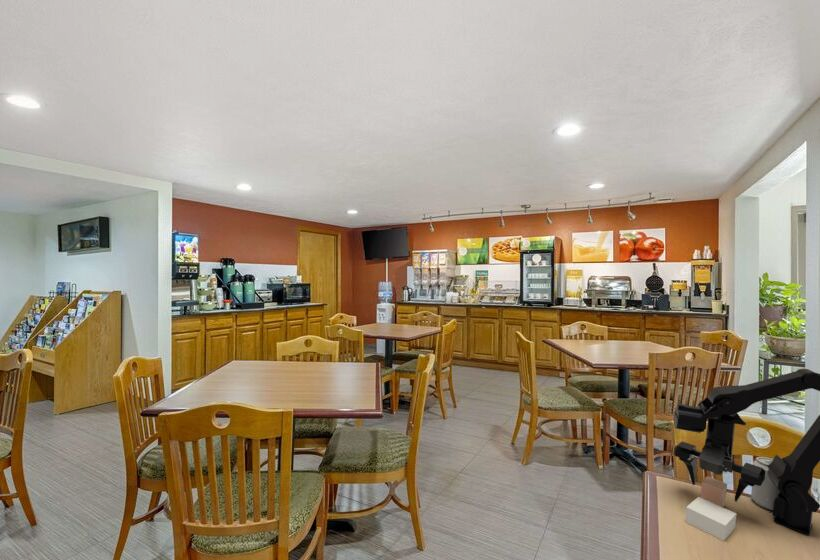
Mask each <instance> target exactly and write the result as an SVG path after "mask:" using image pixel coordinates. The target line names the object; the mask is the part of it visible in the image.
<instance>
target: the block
mask: <svg viewBox="0 0 820 560" xmlns="http://www.w3.org/2000/svg"><path fill="white" fill-rule="evenodd" d="M727 488H728V483H725V482H724V481H721V480H717V479H715V478H713V477H710V476H706V477H705V478H704V479H703V480H702V481H701V490H700V498H703V499H705V500H707V501H709V502H712V503H714V504H716V505H718V506H721V507H723V508H725V506H726V500H727V499H726V498H727V490H728V489H727Z"/></svg>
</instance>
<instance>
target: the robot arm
mask: <svg viewBox="0 0 820 560" xmlns="http://www.w3.org/2000/svg"><path fill="white" fill-rule="evenodd" d="M810 389H813V390H814V391H815V390H816V391H818V392H820V373H818V372H815V371H813V370H812V369H809V368H800V369H797V370H796V371H792V372H789V373H785V374H781V375H778V376H774V377H773V376H772V377H771V378H767V379H762V380H759V381H754V382H751V383H748V384H743V385H722V386H714V387H713V388H710V390H709V391H708V393H707V396H706V397H705V398H703V399H702V400H701V401H700V402H699V403H698V404H697V406H693V405H687V404H684V403H679V402H678V403H677V404H676V407H675V409H674V412H673V426H674V427H673V428H674V429H677V430H682V431H685V432H691V433H692V432H693V433H697V434H700V433H701V432H702V433H703V432H705V430H706V433H705V435H706V436H705V439H704V440H705V441H704V444H703V447H702V448H701V451H699V450H697V448H698V447H697V446H696V445H694V444H692V443H688V442H685V441H680V442H679V443H677V444H676V445H675V446H674V448H673V456H674V457H677V458H678V459H679V460H680V461H681V462H683V463H684V465H685V466H686V469H687V471H688V474H689V477H690V480H691V484H692V486H695V485H696V482H697V472H698V471H697V468H698V466H699V468H700V469H701V470H703V471H708V472H710V473H714V474H715V475H717V476H721V475H723V473H724V472H725V473H727V472H728V473H733V472H735V473H738V474H740V478H739V479H738V483H737V486H736V487H737V488H736V492H735V495H734V502H735V503H737V501H739V499H740V497H741V495H742V494H743V492H744V491H745V489H746V488H748V486H750V487H752V486H754V485H757V486H761V485H762V483H763V481H764V479H765V470H764V469H763V468H761V467H758V466H755V465H753V463H748V462H745V463H744V464H743V465H741V464H738V463H735V459H734V458H733V447H734V437H735V428H736V425H740V426H746V425H747V423H746V422H745V421H744V420H743V418H742V417H741V416H740V414H738V413H740V412H742V411H746V410H747V409H749V407H751V406H752V405H754V404H755V403H759V402H763V401H766V400H770V399H774V398H778V397H782V396H786V395H790V394H794V393H798V392H802V391H805V390H810ZM772 459H773V461H772V463H771V464H769V465H767V467H768V468H769V470H768V476H769V479H770V480H771V481H772V483H773V484H774V485H775V486H776V487H777V489H778V490H779V491H780V493H779V495H778V497H776V498H775V500H774V507H773V510H772V516H773V517H774V518H773V522H775V523H776V524H779V525H782V526H784V527H786V528H789V529H792V530H794V531H796V532H799V533H802V534H803V535H806V536H810V534H811V531H812V528H813V513H817V511H818V510H819V509H820V504H819V502H818V501H817V500H816V499H815V498H814V496H812V495H811V493H810V492H809V491H810V489H811V487H812V485H813V478H814V477H813V476H814V470H815V469H816V467H817V466H818V464H819V463H820V414H819V415H818V416H817V418H816V419H815V420H814V422H813V423H812V424H811V426H810V427H809V429H808V430H807V431H806V433H805V434H804V435H803V436H802V438H801V439H800V440H799V443H797V444H796V447H795V448H794V449H793V450H792V452H791V453H790V454H788V455H787V456H785V457H781V456H779V455H777V454H776V455H774V457H773V458H772ZM698 461H699V462H698Z"/></svg>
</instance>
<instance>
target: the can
mask: <svg viewBox="0 0 820 560" xmlns="http://www.w3.org/2000/svg"><path fill="white" fill-rule="evenodd" d="M773 459H774V458H770V457H765V456H757V457H756V458H755V460H754V461H753V462H752V465H755V466H758V467H761V468H763V469H764V470H765V479H764V481H763V483H762V485H761V486H757V485H754V486H751V495H750V497H751V499H752V501H754V502H755V503H756V504H757V505H758V506H760V507H762V508H764V509H766V510H768V511H769V510H770V511H773V507H774V500H775V498H776V497H778V495H779V493H780V491H779V490H778V489H777V487H776V486H775V485H774V484H773V483H772V481H771V480H770V479H769V476H768V470H769V468H768V467H767V465H769V464H771V463H772V461H773ZM767 499H769V500H767Z"/></svg>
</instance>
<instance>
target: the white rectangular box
mask: <svg viewBox="0 0 820 560" xmlns="http://www.w3.org/2000/svg"><path fill="white" fill-rule="evenodd" d="M684 515H685V516H684V522H685V523H688V524H690V525H692V526H694V527H695V528H697V529H700V530H702V531H704V532H706V533H708V534H710V535H711V536H714V537H716V538H718V539H720V540H721V541H725V540H726V539H727V538H728V537H729V536H730V534H731V533H733V531H734V530H735V529H736V523H737V513H736V512H735V511H732V510H729V509H728V508H725V507H721V506H718V505H716V504H714V503H712V502H709V501H707V500H705V499H703V498H701V496H697V498H695V499H694V500H692V502H690V503H689V504H688V505H687V506H686V507H685V514H684Z"/></svg>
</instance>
